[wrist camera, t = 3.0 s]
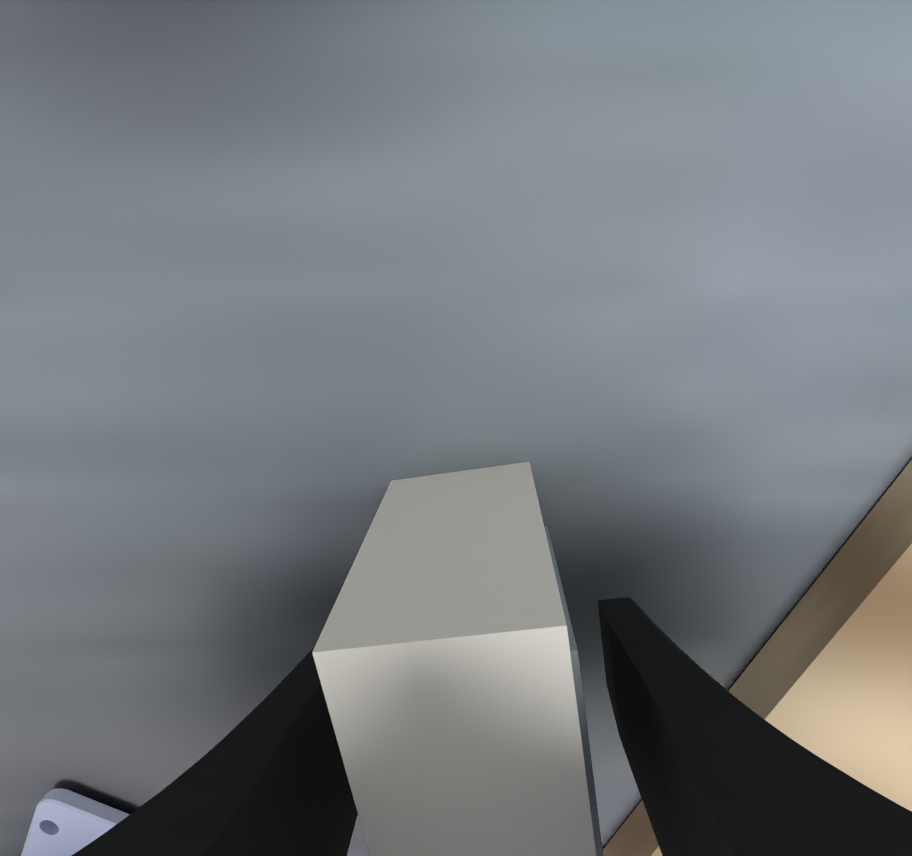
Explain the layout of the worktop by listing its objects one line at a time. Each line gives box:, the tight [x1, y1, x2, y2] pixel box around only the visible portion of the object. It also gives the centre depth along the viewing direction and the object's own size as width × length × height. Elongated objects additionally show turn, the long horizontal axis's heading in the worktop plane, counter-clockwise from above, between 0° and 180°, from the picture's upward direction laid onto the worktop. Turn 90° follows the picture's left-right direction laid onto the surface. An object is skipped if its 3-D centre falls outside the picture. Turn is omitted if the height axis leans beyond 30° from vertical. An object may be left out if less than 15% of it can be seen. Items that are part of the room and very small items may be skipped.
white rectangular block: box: [312, 462, 603, 856], centre depth 10 cm, size 7×3×6 cm, turn 9°
